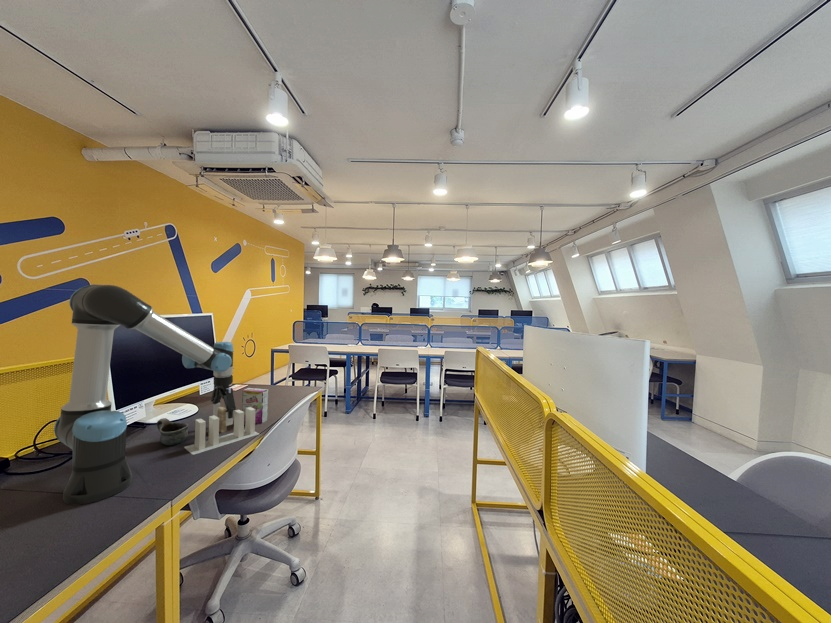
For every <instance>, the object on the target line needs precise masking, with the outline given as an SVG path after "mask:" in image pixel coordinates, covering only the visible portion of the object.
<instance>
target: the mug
mask: <svg viewBox="0 0 831 623" xmlns="http://www.w3.org/2000/svg"><path fill="white" fill-rule="evenodd" d="M188 427H189V424H188V423H187V422H185V423H184V422H175V421H174V422H173V421H170V419H168V418H167V417H162V418H160V419H158V420H157V422H156V428H157V429H158V431H159V432H160V435H159V440H160V443H161V444H163V445H165V446H173V445H178V444H180V443H182V442H183V441H185V440H186V439H187V437H188V434H189V433H188V432H189V431H188Z"/></svg>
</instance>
